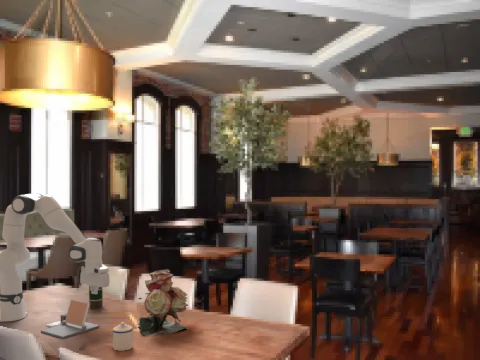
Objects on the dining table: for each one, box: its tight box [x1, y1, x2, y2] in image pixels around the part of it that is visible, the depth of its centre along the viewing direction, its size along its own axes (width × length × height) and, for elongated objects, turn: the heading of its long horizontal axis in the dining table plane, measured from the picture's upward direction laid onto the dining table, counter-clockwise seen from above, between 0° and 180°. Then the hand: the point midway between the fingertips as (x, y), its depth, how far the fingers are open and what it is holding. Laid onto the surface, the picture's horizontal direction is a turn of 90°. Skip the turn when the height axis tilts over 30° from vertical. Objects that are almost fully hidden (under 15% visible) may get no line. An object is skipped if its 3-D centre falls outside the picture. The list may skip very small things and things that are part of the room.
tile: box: [65, 298, 90, 327], centre depth 258 cm, size 12×14×1 cm
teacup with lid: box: [109, 321, 134, 352], centre depth 227 cm, size 12×9×12 cm
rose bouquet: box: [137, 268, 189, 337], centre depth 257 cm, size 26×29×30 cm
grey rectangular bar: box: [45, 313, 67, 328], centre depth 267 cm, size 16×5×4 cm, turn 145°
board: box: [40, 320, 100, 340], centre depth 255 cm, size 18×22×3 cm
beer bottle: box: [88, 285, 104, 309], centre depth 300 cm, size 8×8×24 cm
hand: (94, 293), depth 267 cm, fingers closed
